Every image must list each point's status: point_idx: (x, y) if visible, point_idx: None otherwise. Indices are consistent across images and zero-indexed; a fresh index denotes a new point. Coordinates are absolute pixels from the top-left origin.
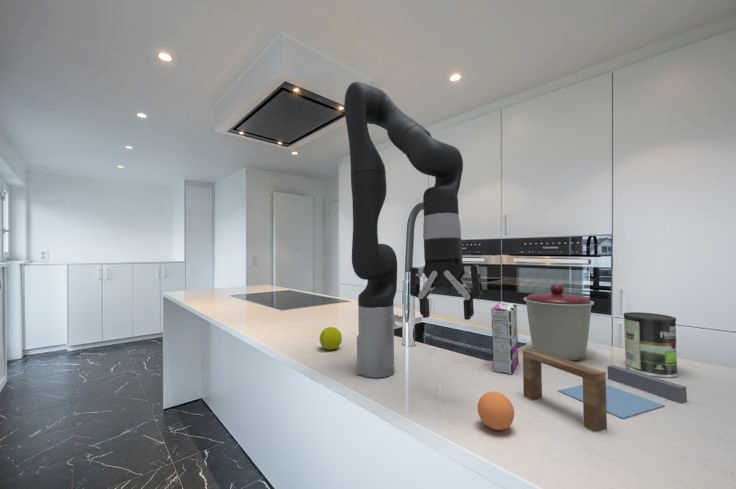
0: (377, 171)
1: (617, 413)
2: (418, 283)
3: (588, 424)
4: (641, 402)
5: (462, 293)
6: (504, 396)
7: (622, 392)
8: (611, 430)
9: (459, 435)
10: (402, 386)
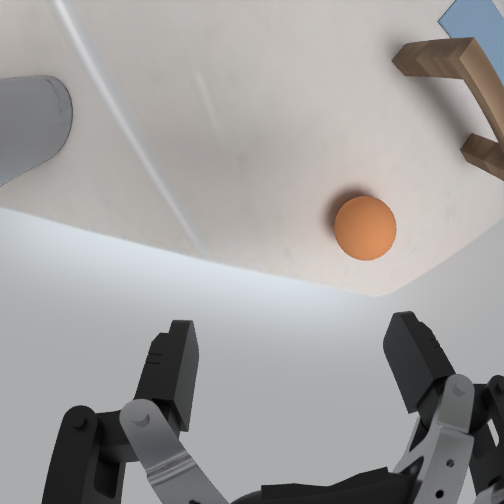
0: None
1: None
2: (98, 494)
3: (467, 157)
4: None
5: (415, 444)
6: (391, 237)
7: (499, 20)
8: None
9: (304, 262)
10: (125, 146)
